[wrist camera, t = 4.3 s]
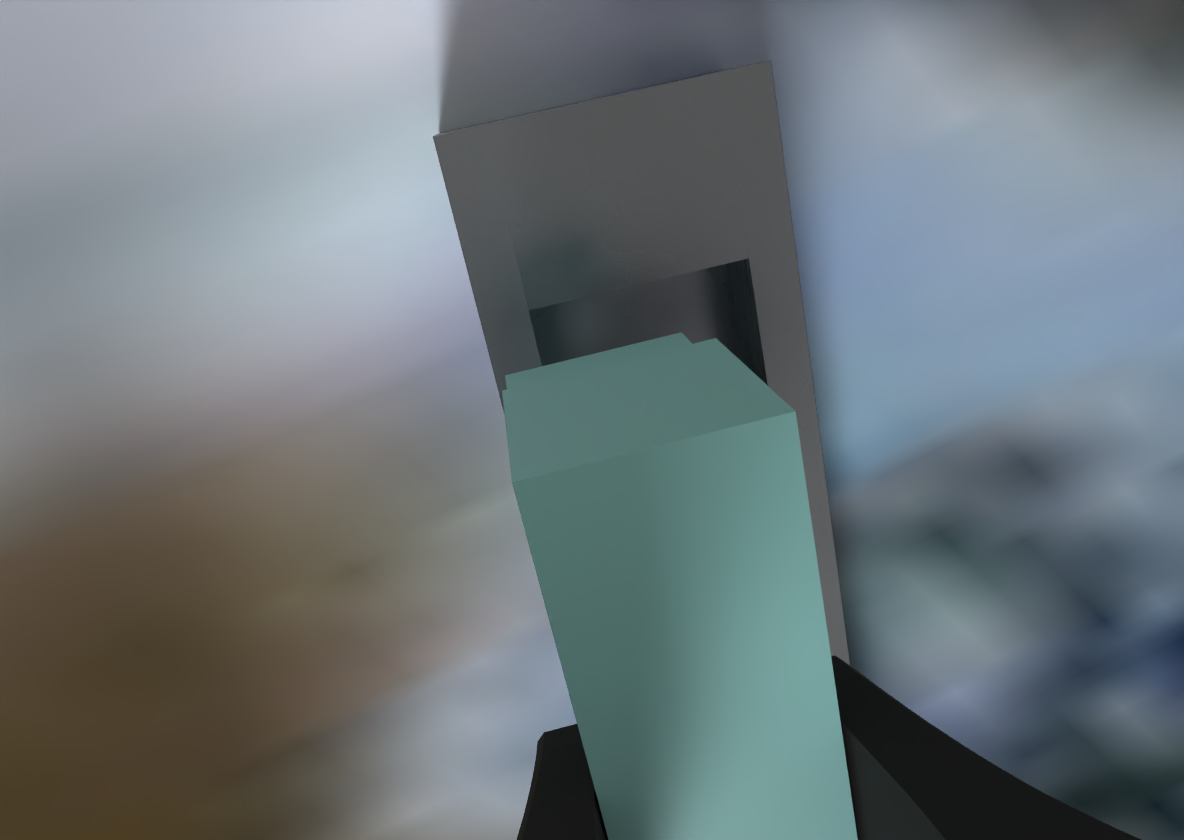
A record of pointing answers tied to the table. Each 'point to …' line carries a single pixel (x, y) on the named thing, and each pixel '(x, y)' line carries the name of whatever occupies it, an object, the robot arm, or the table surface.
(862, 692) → the robot arm
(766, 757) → the teal rectangular block
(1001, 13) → the table surface
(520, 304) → the rail
